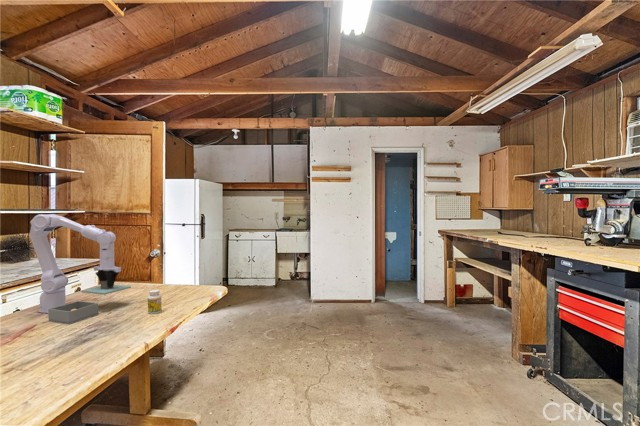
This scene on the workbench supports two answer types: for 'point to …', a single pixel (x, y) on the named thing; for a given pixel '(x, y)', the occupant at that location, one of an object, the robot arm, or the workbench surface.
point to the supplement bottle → (154, 302)
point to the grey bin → (73, 312)
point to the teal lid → (105, 288)
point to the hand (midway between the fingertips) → (107, 286)
